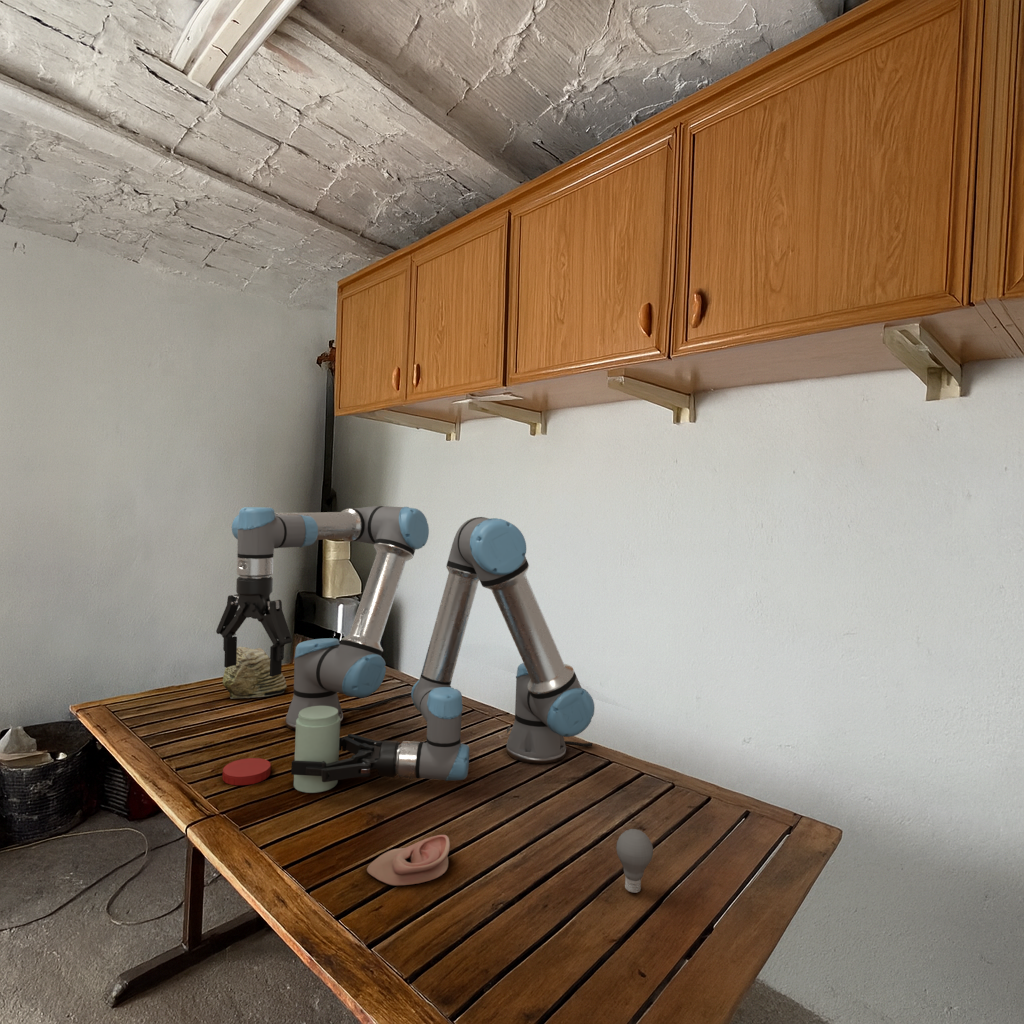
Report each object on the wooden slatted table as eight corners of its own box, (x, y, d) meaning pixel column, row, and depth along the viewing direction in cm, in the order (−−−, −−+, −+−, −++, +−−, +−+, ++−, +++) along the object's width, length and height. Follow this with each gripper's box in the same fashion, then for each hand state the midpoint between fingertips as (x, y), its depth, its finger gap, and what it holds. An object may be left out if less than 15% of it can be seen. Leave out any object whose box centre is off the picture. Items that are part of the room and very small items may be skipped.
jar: (287, 780, 141) (290, 709, 140) (327, 770, 147) (330, 702, 146) (302, 796, 133) (305, 722, 133) (344, 785, 139) (347, 714, 139)
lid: (265, 784, 138) (265, 776, 138) (216, 786, 136) (216, 777, 136) (274, 765, 148) (275, 757, 148) (229, 766, 146) (229, 758, 146)
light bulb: (610, 879, 108) (613, 822, 108) (644, 879, 109) (647, 822, 109) (619, 902, 102) (622, 840, 102) (655, 901, 103) (658, 840, 103)
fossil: (218, 695, 195) (220, 647, 195) (278, 685, 208) (279, 640, 207) (228, 703, 189) (230, 653, 188) (289, 692, 201) (290, 645, 201)
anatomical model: (359, 856, 105) (387, 822, 116) (358, 879, 105) (386, 843, 116) (435, 869, 102) (456, 833, 114) (434, 893, 103) (455, 855, 114)
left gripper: (200, 573, 143) (198, 666, 144) (285, 583, 133) (282, 683, 134) (227, 569, 150) (225, 658, 151) (310, 579, 140) (307, 674, 141)
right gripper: (386, 803, 127) (281, 797, 128) (408, 753, 152) (320, 749, 152) (387, 766, 127) (282, 760, 127) (409, 722, 152) (321, 718, 152)
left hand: (252, 670), depth 142 cm, fingers open, 13 cm apart
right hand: (302, 754), depth 140 cm, fingers open, 13 cm apart
